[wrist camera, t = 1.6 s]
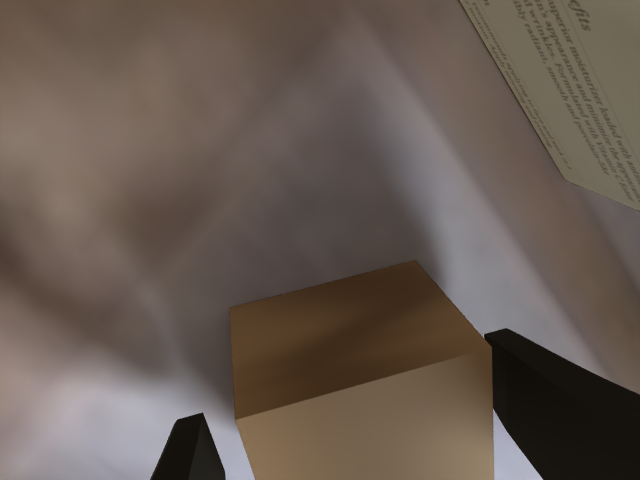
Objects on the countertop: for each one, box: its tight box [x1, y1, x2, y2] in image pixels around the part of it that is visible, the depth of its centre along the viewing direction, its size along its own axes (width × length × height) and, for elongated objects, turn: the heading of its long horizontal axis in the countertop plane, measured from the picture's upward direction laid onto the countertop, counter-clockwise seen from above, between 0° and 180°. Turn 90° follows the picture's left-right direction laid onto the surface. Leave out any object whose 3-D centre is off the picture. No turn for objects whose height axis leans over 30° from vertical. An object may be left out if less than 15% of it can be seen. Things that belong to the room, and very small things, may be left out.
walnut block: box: [229, 260, 494, 480], centre depth 12 cm, size 5×5×4 cm
